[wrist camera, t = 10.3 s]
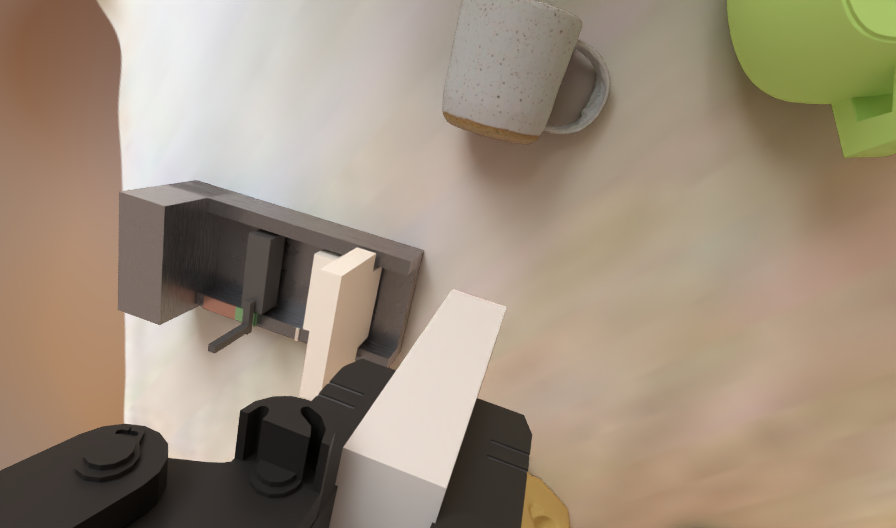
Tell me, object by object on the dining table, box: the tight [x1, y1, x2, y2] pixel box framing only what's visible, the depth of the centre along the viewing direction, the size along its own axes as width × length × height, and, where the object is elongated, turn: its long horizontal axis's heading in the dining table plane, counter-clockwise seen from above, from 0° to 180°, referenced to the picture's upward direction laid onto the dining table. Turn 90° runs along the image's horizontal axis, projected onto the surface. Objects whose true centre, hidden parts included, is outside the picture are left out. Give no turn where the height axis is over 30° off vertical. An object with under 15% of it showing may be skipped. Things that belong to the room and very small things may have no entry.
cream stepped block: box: [299, 247, 382, 401], centre depth 37 cm, size 5×10×8 cm, turn 166°
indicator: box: [208, 229, 285, 353], centre depth 39 cm, size 2×9×7 cm, turn 166°
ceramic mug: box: [443, 0, 610, 144], centre depth 31 cm, size 11×8×8 cm
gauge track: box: [118, 180, 424, 368], centre depth 40 cm, size 22×10×8 cm, turn 76°
